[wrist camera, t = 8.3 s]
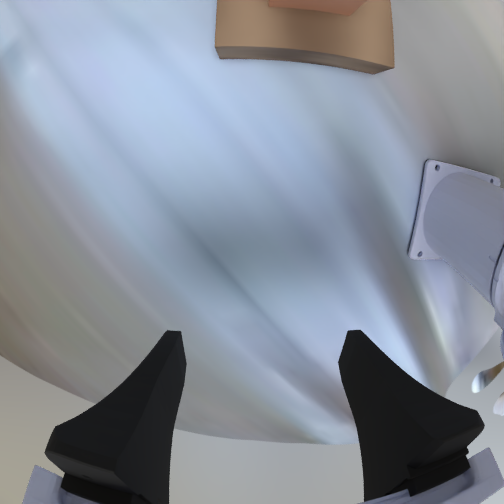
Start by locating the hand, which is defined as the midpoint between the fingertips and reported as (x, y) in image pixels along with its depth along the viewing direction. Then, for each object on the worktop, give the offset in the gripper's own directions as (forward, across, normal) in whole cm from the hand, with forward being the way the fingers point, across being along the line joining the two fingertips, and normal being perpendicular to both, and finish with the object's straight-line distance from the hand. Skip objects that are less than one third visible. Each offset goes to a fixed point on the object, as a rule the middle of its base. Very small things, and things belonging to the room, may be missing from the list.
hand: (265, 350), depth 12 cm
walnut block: (+10, -2, -18) cm, 21 cm away
